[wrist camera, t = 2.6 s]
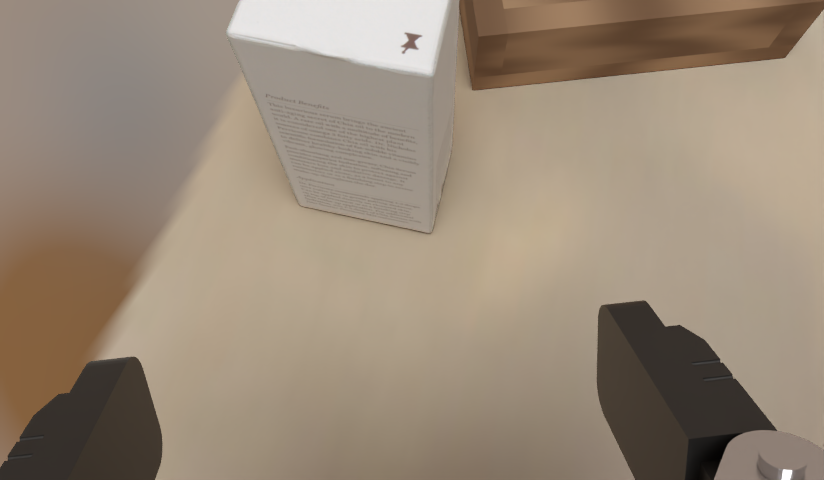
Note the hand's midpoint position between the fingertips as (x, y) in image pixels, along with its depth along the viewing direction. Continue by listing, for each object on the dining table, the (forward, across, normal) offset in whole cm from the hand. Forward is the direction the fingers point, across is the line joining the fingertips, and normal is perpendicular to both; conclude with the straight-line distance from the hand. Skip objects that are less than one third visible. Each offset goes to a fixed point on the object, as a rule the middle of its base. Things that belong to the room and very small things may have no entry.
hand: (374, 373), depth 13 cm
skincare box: (+19, 0, +3) cm, 20 cm away
